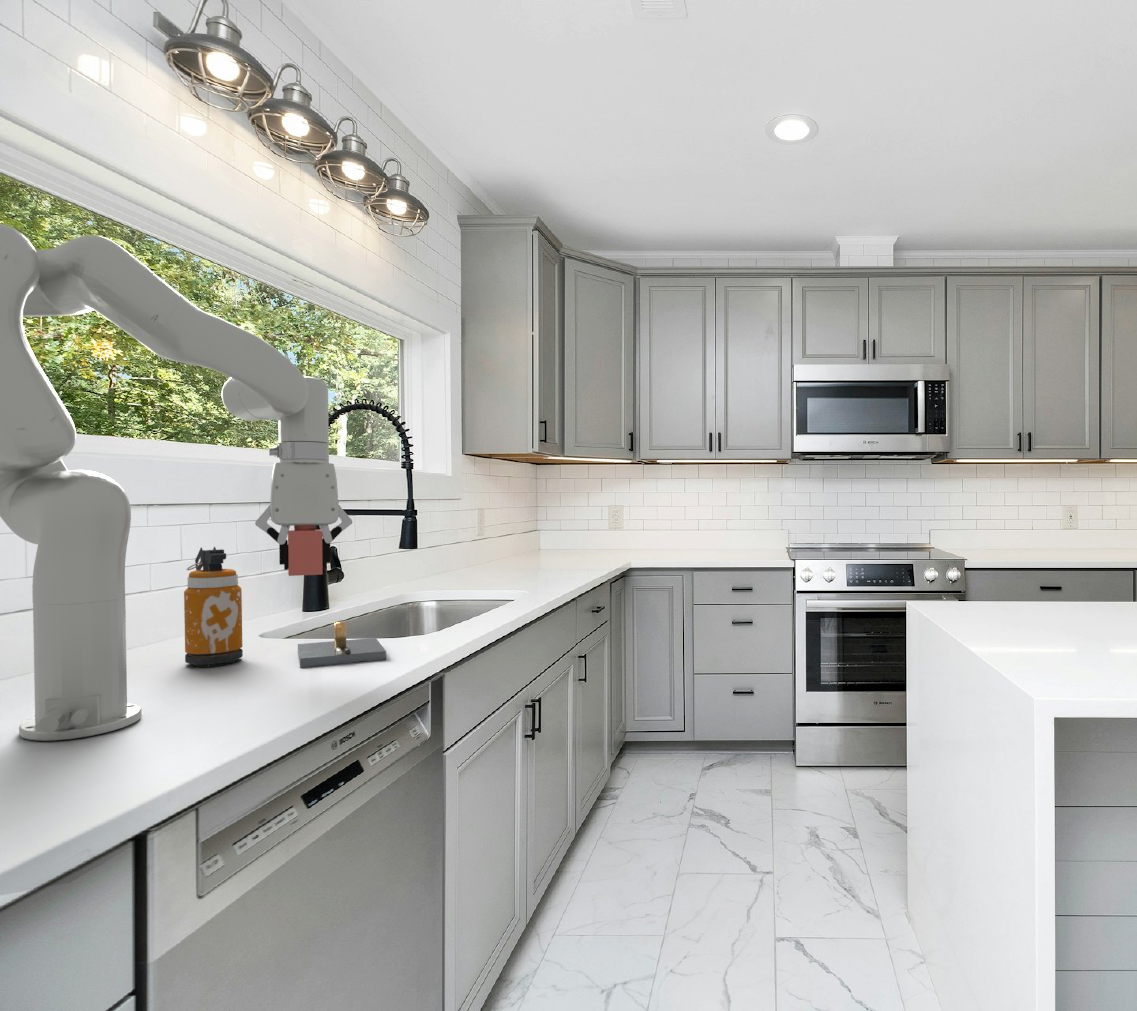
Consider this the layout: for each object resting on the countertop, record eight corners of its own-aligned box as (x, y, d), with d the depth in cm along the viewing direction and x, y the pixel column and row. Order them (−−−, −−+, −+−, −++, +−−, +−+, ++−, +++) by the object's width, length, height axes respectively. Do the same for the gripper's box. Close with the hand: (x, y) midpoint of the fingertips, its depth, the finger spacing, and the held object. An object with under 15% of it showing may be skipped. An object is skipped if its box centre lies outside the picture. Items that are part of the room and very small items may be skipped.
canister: (193, 671, 120) (191, 549, 120) (176, 660, 129) (174, 547, 129) (249, 662, 126) (247, 546, 126) (229, 653, 135) (228, 544, 134)
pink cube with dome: (322, 574, 116) (322, 522, 116) (288, 575, 114) (288, 523, 114) (320, 572, 120) (320, 522, 120) (288, 573, 118) (287, 522, 119)
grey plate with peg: (386, 660, 126) (385, 625, 126) (300, 668, 121) (299, 632, 121) (375, 645, 140) (375, 614, 140) (297, 652, 135) (297, 619, 134)
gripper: (245, 452, 111) (246, 572, 110) (361, 454, 117) (362, 568, 117) (247, 455, 117) (248, 569, 117) (356, 457, 124) (357, 565, 124)
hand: (305, 567), depth 117 cm, fingers closed on pink cube with dome, 4 cm apart
